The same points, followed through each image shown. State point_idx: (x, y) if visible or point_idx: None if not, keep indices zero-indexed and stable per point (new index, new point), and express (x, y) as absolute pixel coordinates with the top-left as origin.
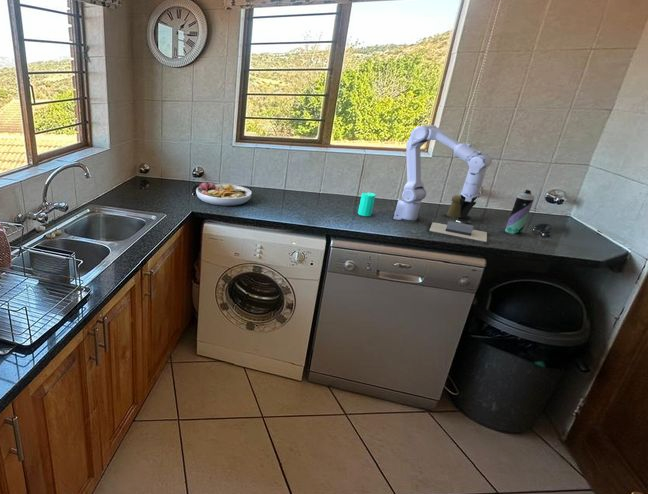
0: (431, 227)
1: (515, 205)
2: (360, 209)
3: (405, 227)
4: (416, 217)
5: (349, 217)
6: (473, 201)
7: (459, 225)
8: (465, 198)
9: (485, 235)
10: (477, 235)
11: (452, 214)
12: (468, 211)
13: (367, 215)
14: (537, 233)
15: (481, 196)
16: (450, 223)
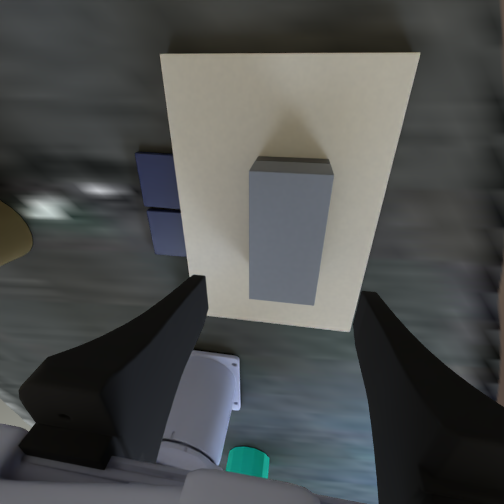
0: (290, 322)
1: None
2: None
3: (324, 384)
4: (208, 371)
5: (315, 483)
6: (145, 346)
7: (312, 252)
8: (152, 427)
9: (251, 63)
10: (289, 117)
11: (8, 247)
12: (407, 334)
13: (265, 457)
14: None
15: (298, 500)
16: (299, 293)
